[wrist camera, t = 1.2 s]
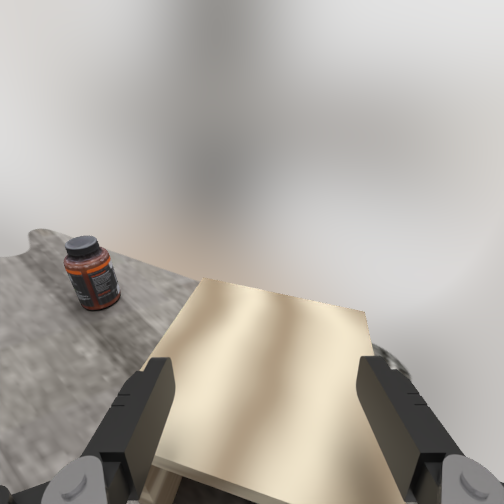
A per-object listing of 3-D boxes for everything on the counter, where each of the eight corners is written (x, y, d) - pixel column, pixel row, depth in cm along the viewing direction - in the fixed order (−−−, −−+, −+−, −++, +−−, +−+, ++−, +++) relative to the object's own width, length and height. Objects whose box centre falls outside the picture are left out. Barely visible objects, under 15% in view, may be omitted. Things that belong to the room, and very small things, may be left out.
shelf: (148, 517, 20) (96, 434, 12) (208, 374, 31) (203, 277, 23) (323, 588, 18) (415, 548, 9) (322, 406, 29) (364, 311, 20)
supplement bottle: (128, 289, 43) (113, 234, 37) (107, 314, 38) (86, 254, 32) (96, 285, 44) (76, 230, 38) (72, 309, 39) (45, 249, 33)
